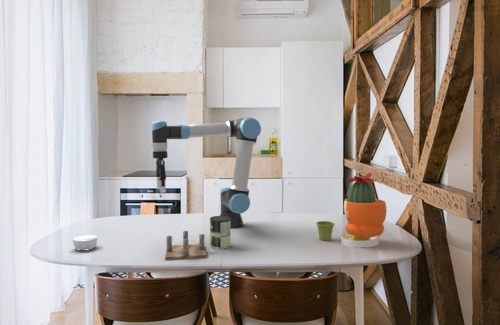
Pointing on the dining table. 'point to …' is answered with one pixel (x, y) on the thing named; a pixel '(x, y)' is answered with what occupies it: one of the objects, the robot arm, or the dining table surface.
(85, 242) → the ramekin
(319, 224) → the plant pot
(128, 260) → the dining table surface
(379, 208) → the potted cactus
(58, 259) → the dining table surface
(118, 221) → the dining table surface
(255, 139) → the robot arm
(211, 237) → the coffee can
